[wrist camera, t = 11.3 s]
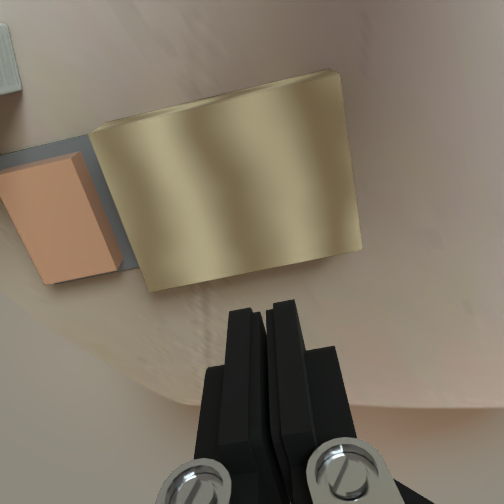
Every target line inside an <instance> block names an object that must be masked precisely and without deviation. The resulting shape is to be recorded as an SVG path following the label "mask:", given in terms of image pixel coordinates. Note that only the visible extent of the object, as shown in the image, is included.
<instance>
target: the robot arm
mask: <svg viewBox="0 0 504 504" xmlns="http://www.w3.org/2000/svg"><path fill="white" fill-rule="evenodd" d="M266 328H267V335H266V331H265V327H264V324H263V320H262V316H261V313H260V312H254V313H253V311H252V309H251V308H245V309H239V310H234V311H230V312H229V318H228V330H227V342H226V354H225V365H220V366H214V367H208V368H207V370H206V374H205V380H204V388H203V395H202V402H201V410H200V417H199V424H198V431H197V439H196V446H195V454H194V460H191V461H189V462H187V463H185V464H182V465H181V466H179V467H178V468H177V469H176V470H174V471H173V472H172V473H171V474H170V475H169V476H168V478H167V479H166V480H165V481H164V483H163V485H162V487H161V489H160V491H159V493H158V497H157V499H156V502H155V504H434V503H433V502H431V501H429V500H428V499H426V498H424V497H423V496H421V495H419V494H418V493H416V492H415V491H413V490H411V489H410V488H408V487H406V486H405V485H403V484H401V483H400V482H398V481H396V480H395V479H393V478H392V475H391V473H390V471H389V469H388V467H387V465H386V463H385V461H384V459H383V458H382V456H381V455H380V453H379V452H378V450H376V449H375V448H374V447H373V446H371V445H370V444H369V443H367V442H365V441H362V440H360V439H357V436H356V432H355V428H354V424H353V420H352V416H351V411H350V407H349V403H348V399H347V395H346V391H345V387H344V382H343V378H342V374H341V370H340V366H339V362H338V358H337V354H336V350H335V346H330V347H324V348H319V349H313V350H307V351H306V349H305V345H304V340H303V336H302V331H301V327H300V322H299V317H298V313H297V308H296V304H295V300H294V299H293V300H288V301H282V302H277V303H273V309H271V310H266ZM290 501H291V503H290Z"/></svg>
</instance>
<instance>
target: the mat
mask: <svg viewBox="0 0 504 504" xmlns="http://www.w3.org/2000/svg"><path fill="white" fill-rule="evenodd" d="M78 151H81V153H82V156H83V158H84V161H85V163H86V166H87V168H88V171H89V173H90V176H91V178H92V181H93V183H94V185H95V188H96V190H97V193H98V195H99V198H100V200H101V203H102V205H103V208H104V210H105V213H106V215H107V218H108V220H109V223H110V225H111V228H112V230H113V233H114V235H115V238H116V240H117V243H118V245H119V248H120V250H121V253H122V255H123V258H124V259H123V260H122V262H121V264H120V266H119V268H118V270H116V271H111V272H106V273H101V274H96V275H92V276H87V277H82V278H77V279H72V280H67V281H62V282H57V283H54V284H59V283H63V282H68V281H73V280H78V279H83V278H88V277H93V276H97V275H102V274H107V273H112V272H117V271H122V270H126V269H131V268H136V267H139V264H138V262H137V259H136V257H135V254H134V251H133V249H132V246H131V244H130V241H129V239H128V236H127V233H126V231H125V228H124V226H123V223H122V221H121V218H120V215H119V213H118V210H117V208H116V205H115V203H114V200H113V197H112V195H111V192H110V190H109V187H108V185H107V182H106V179H105V177H104V174H103V172H102V169H101V167H100V164H99V161H98V159H97V156H96V154H95V151H94V149H93V146H92V143H91V141H90V138H89V136H88V134H87V135H83V136H79V137H75V138H71V139H66V140H62V141H58V142H54V143H50V144H45V145H41V146H37V147H33V148H29V149H25V150H20V151H16V152H12V153H8V154H4V155H0V171H1V170H3V169H6V168H10V167H14V166H19V165H23V164H27V163H31V162H36V161H40V160H44V159H48V158H53V157H57V156H61V155H65V154H70V153H74V152H78Z"/></svg>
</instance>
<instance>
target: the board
mask: <svg viewBox="0 0 504 504" xmlns="http://www.w3.org/2000/svg"><path fill="white" fill-rule="evenodd" d="M88 136H89V138H90V141H91V143H92V146H93V149H94V151H95V154H96V156H97V159H98V161H99V164H100V167H101V169H102V172H103V174H104V177H105V179H106V182H107V185H108V187H109V190H110V192H111V195H112V197H113V200H114V203H115V205H116V208H117V210H118V213H119V215H120V218H121V221H122V223H123V226H124V228H125V231H126V233H127V236H128V239H129V241H130V244H131V246H132V249H133V251H134V254H135V257H136V259H137V262H138V264H139V267H140V269H141V272H142V275H143V277H144V280H145V282H146V285H147V287H148V290H149V292H154V291H159V290H164V289H169V288H174V287H179V286H184V285H189V284H194V283H199V282H204V281H209V280H214V279H219V278H224V277H229V276H234V275H239V274H244V273H249V272H254V271H259V270H264V269H269V268H274V267H279V266H284V265H289V264H294V263H299V262H304V261H309V260H314V259H319V258H324V257H329V256H334V255H339V254H344V253H349V252H354V251H359V250H363V248H362V240H361V232H360V224H359V217H358V209H357V201H356V193H355V185H354V178H353V170H352V162H351V154H350V147H349V139H348V131H347V123H346V115H345V108H344V100H343V92H342V84H341V76H340V74H339V73H337V72H335V71H333V70H331V69H326V70H322V71H317V72H313V73H309V74H305V75H301V76H297V77H292V78H288V79H284V80H280V81H276V82H272V83H268V84H263V85H259V86H255V87H251V88H247V89H243V90H239V91H234V92H230V93H226V94H222V95H218V96H214V97H209V98H205V99H201V100H197V101H193V102H189V103H185V104H180V105H176V106H172V107H168V108H164V109H160V110H156V111H151V112H147V113H143V114H139V115H135V116H131V117H126V118H122V119H118V120H114V121H110V122H106V123H105V124H103V125H102V126H100V127H99V128H97V129H96V130H94V131H92V132H91V133H89V134H88Z"/></svg>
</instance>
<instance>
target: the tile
mask: <svg viewBox="0 0 504 504" xmlns="http://www.w3.org/2000/svg"><path fill="white" fill-rule="evenodd" d="M0 197H1V199H2V201H3V203H4V205H5V207H6V209H7V211H8V213H9V215H10V217H11V219H12V221H13V223H14V225H15V227H16V229H17V231H18V233H19V235H20V237H21V239H22V241H23V243H24V245H25V247H26V249H27V251H28V253H29V255H30V257H31V258H32V260H33V262H34V264H35V266H36V268H37V270H38V272H39V274H40V276H41V278H42V280H43V282H44V284H45V285H48V284H53V283H57V282H62V281H67V280H72V279H77V278H82V277H87V276H92V275H96V274H101V273H106V272H111V271H116V270H118V268H119V266H120V264H121V262H122V260H123V259H124V258H123V255H122V253H121V250H120V248H119V245H118V243H117V240H116V238H115V235H114V233H113V230H112V228H111V225H110V223H109V220H108V218H107V215H106V213H105V210H104V208H103V205H102V203H101V200H100V198H99V195H98V193H97V190H96V188H95V185H94V183H93V181H92V178H91V176H90V173H89V171H88V168H87V166H86V163H85V161H84V158H83V156H82V153H81V151H78V152H74V153H70V154H65V155H61V156H57V157H53V158H48V159H44V160H40V161H36V162H31V163H27V164H23V165H19V166H14V167H10V168H6V169H3V170H1V171H0Z"/></svg>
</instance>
